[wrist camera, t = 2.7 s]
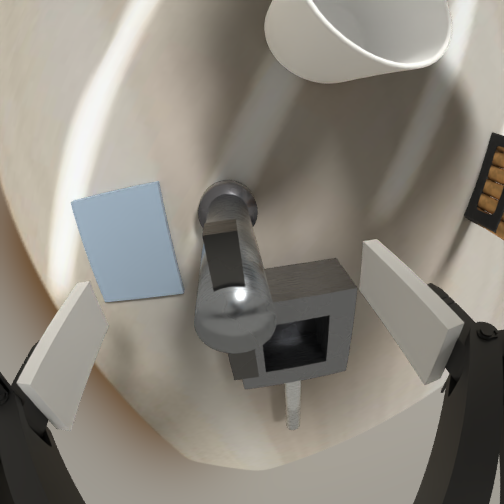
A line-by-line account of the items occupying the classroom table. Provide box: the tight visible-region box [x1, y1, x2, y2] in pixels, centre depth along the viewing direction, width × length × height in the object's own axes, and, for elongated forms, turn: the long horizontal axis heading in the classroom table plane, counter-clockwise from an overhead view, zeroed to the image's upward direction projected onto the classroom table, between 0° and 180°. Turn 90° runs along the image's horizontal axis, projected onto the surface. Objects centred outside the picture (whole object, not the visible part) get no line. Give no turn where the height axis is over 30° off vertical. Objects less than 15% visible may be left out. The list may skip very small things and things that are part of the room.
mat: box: [71, 181, 184, 302], centre depth 23 cm, size 10×8×1 cm
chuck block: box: [242, 258, 357, 430], centre depth 29 cm, size 23×10×5 cm, turn 6°
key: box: [194, 180, 277, 380], centre depth 17 cm, size 7×4×14 cm, turn 6°
